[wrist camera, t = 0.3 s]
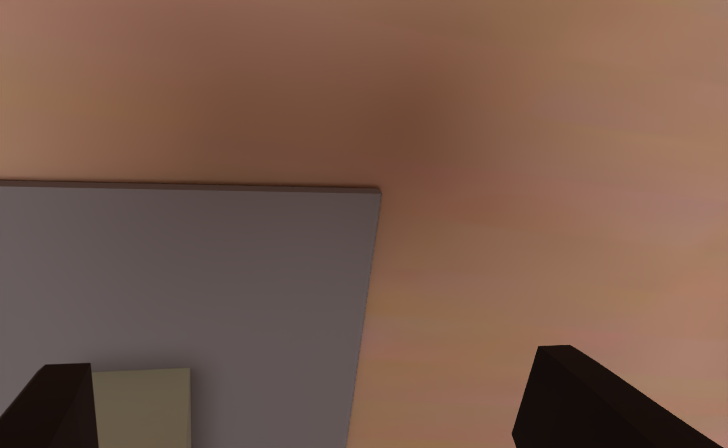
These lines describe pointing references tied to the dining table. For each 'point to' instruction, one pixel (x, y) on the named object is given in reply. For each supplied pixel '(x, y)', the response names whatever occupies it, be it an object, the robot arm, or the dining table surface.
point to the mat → (195, 297)
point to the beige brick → (143, 408)
